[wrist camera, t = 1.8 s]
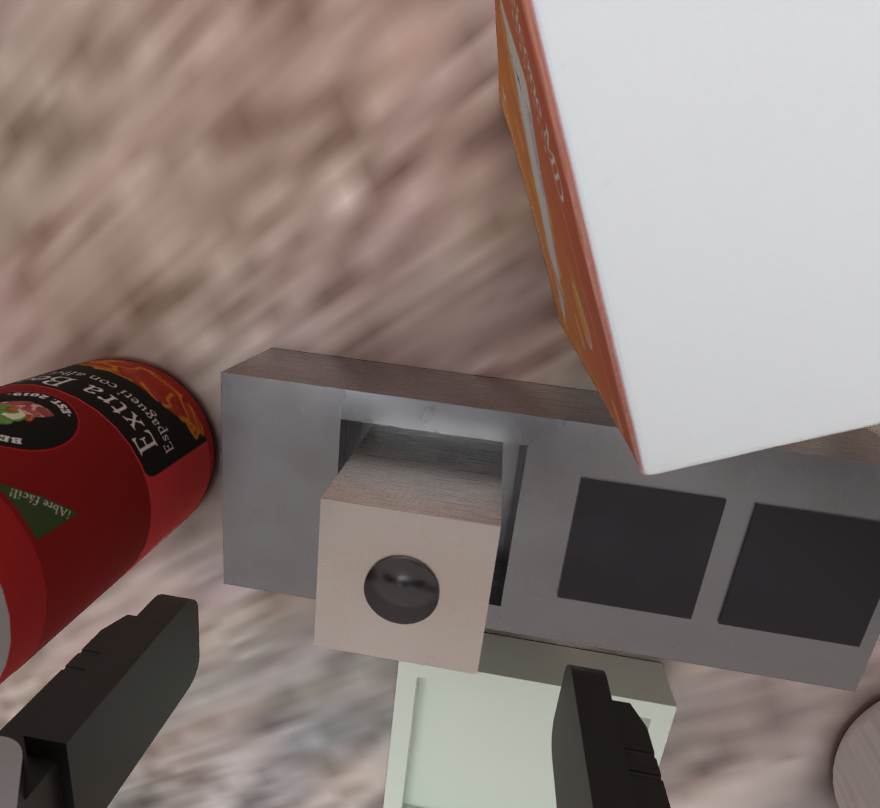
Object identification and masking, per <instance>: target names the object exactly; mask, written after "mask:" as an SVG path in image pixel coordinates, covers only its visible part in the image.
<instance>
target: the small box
mask: <svg viewBox="0 0 880 808" xmlns="http://www.w3.org/2000/svg"><path fill="white" fill-rule="evenodd" d="M495 10H496V33H497V47H498V64H499V95H500V103H501V106H502V109H503V112H504V115H505V118H506V122H507V125H508V128H509V131H510V134H511V137H512V141H513V144H514V148H515V151H516V155H517V158H518V162H519V166H520V169H521V173H522V177H523V180H524V184H525V188H526V191H527V195H528V199H529V202H530V206H531V210H532V214H533V217H534V221H535V225H536V229H537V232H538V236H539V240H540V244H541V248H542V252H543V256H544V260H545V264H546V267H547V271H548V275H549V279H550V282H551V287H552V291H553V295H554V299H555V303H556V307H557V311H558V315H559V319H560V323H561V325H562V327H563V329H564V331H565V333H566V334H567V336H568V338H569V340H570V341H571V343H572V345H573V346H574V348H575V350H576V352H577V354H578V356H579V358H580V359H581V361H582V363H583V365H584V366H585V368H586V370H587V372H588V374H589V376H590V377H591V379H592V381H593V383H594V384H595V386H596V388H597V390H598V392H599V394H600V395H601V397H602V399H603V401H604V403H605V404H606V406H607V408H608V410H609V412H610V414H611V416H612V417H613V419H614V421H615V423H616V425H617V427H618V428H619V430H620V432H621V434H622V435H623V437H624V439H625V441H626V443H627V445H628V446H629V448H630V450H631V452H632V454H633V456H634V458H635V461H636V463H637V465H638V468H639V470H640V473H642V474H644V475H654V474H659V473H664V472H668V471H672V470H676V469H681V468H685V467H689V466H694V465H698V464H702V463H707V462H711V461H716V460H720V459H725V458H729V457H733V456H738V455H742V454H746V453H750V452H754V451H759V450H763V449H767V448H772V447H777V446H781V445H786V444H791V443H795V442H800V441H805V440H809V439H814V438H819V437H823V436H828V435H833V434H837V433H842V432H846V431H851V430H856V429H860V428H865V427H870V426H874V425H879V424H880V0H495Z"/></svg>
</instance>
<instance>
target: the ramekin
mask: <svg viewBox="0 0 880 808" xmlns="http://www.w3.org/2000/svg"><path fill="white" fill-rule="evenodd" d="M833 787H834V792H835V797H836V801H837V804H838V806H839V808H880V700H879V701H878V702H876V703H875V704H874V705H872V706H871V707H869V708H868V709H867V710H865V711H864V712H863V713H862V714H861V715H860V716H859V717H858V718H857V719H856V720H855V721H854V722H853V723H852V724H851V725H850V727H849V728H848V730H847V731H846V733H845V734H844V736H843V738H842V740H841V742H840V744H839V747H838V750H837V753H836V757H835V762H834V767H833Z"/></svg>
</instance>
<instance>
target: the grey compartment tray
mask: <svg viewBox="0 0 880 808" xmlns="http://www.w3.org/2000/svg"><path fill="white" fill-rule="evenodd" d="M221 408H222V479H223V549H224V584H229V585H235V586H241V587H247V588H253V589H259V590H265V591H270V592H276V593H282V594H288V595H294V596H300V597H306V598H311V599H316V590H317V569H318V547H319V526H320V504H321V498H322V496H323V495H324V493H325V492H326V491H327V489H328V488H329V486H330V485H331V483H332V482H333V481H334V479H335V478H336V476H337V475H338V474H339V472H340V471H341V469H342V468H343V467H344V465H345V464H346V462H347V461H348V459H349V458H350V457H351V455H352V454H353V452H354V451H355V450H356V448H357V447H358V445H359V444H360V443H361V441H362V440H363V438H364V437H365V435H366V434H367V433H368V431H369V430H370V428H371V427H372V426H373V424H379V425H386V426H393V427H400V428H407V429H414V430H421V431H428V432H435V433H442V434H449V435H456V436H463V437H470V438H477V439H484V440H491V441H497V442H503V457H502V504H501V530H500V536H499V542H498V549H497V555H496V561H495V567H494V573H493V580H492V586H491V592H490V598H489V604H488V611H487V617H486V623H485V628H487V629H493V630H499V631H505V632H510V633H516V634H522V635H528V636H534V637H540V638H546V639H551V640H557V641H563V642H569V643H575V644H581V645H587V646H592V647H598V648H604V649H610V650H616V651H622V652H627V653H633V654H639V655H645V656H651V657H657V658H663V659H668V660H674V661H680V662H686V663H692V664H698V665H704V666H709V667H715V668H721V669H727V670H733V671H739V672H745V673H750V674H756V675H762V676H768V677H774V678H780V679H786V680H791V681H797V682H803V683H809V684H815V685H821V686H826V687H832V688H838V689H844V690H850V691H855V690H856V688H857V685H858V683H859V681H860V678H861V676H862V674H863V671H864V669H865V667H866V664H867V662H868V660H869V657H870V655H871V653H872V650H873V648H874V646H875V643H876V641H877V639H878V636H879V634H880V436H878V435H876V434H874V433H872V432H870V431H869V430H867V429H865V428H860V429H856V430H851V431H846V432H842V433H837V434H833V435H828V436H823V437H819V438H814V439H809V440H805V441H800V442H795V443H791V444H786V445H781V446H777V447H772V448H767V449H763V450H759V451H754V452H750V453H746V454H742V455H738V456H733V457H729V458H725V459H720V460H716V461H711V462H707V463H702V464H698V465H694V466H689V467H685V468H681V469H676V470H672V471H668V472H664V473H659V474H654V475H644V474H642V473H640V470H639V468H638V465H637V463H636V461H635V458H634V456H633V454H632V452H631V450H630V448H629V446H628V445H627V443H626V441H625V439H624V437H623V435H622V434H621V432H620V430H619V428H618V427H617V425H616V423H615V421H614V419H613V417H612V416H611V414H610V412H609V410H608V408H607V406H606V404H605V403H604V401H603V399H602V397H601V395H600V394H599V392H595V391H588V390H580V389H573V388H566V387H558V386H551V385H543V384H536V383H528V382H521V381H514V380H506V379H499V378H491V377H484V376H476V375H469V374H461V373H454V372H447V371H439V370H432V369H424V368H417V367H409V366H402V365H395V364H387V363H380V362H372V361H365V360H357V359H350V358H343V357H335V356H328V355H320V354H313V353H305V352H298V351H291V350H283V349H276V348H271V349H269V350H267V351H264V352H262V353H260V354H258V355H256V356H254V357H252V358H250V359H248V360H246V361H244V362H241V363H239V364H237V365H235V366H233V367H231V368H229V369H227V370H225V371H223V372H221Z"/></svg>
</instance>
